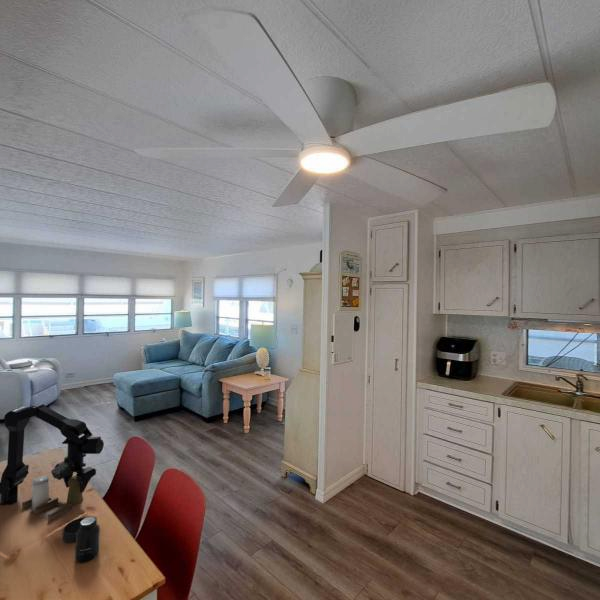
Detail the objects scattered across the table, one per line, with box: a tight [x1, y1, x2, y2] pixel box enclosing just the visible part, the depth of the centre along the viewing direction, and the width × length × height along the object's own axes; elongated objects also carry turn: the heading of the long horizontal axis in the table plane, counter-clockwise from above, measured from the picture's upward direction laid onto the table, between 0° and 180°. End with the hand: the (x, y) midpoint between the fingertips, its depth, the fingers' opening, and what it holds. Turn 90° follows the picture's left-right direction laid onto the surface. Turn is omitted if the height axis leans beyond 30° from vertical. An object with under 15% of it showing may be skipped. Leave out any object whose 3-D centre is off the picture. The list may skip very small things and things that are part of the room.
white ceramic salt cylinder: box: [31, 475, 50, 510], centre depth 136 cm, size 6×6×11 cm
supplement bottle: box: [74, 515, 101, 564], centre depth 111 cm, size 7×7×12 cm
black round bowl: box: [62, 517, 85, 543], centre depth 121 cm, size 9×9×4 cm
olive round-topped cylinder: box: [66, 475, 84, 506], centre depth 140 cm, size 6×6×11 cm
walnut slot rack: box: [21, 495, 73, 522], centre depth 134 cm, size 19×8×3 cm, turn 66°
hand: (74, 489), depth 140 cm, fingers open, 9 cm apart
